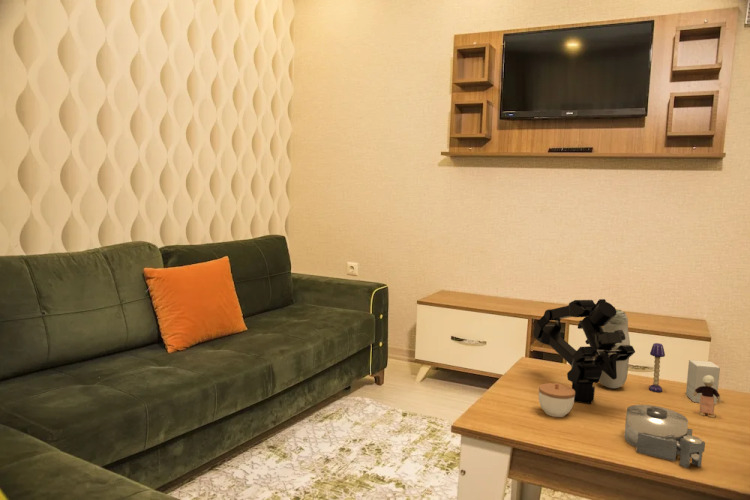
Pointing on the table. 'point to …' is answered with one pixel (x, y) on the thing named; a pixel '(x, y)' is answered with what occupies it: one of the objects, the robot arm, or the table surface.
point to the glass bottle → (621, 366)
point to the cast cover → (654, 423)
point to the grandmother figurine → (707, 396)
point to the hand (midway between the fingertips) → (614, 378)
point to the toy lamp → (656, 365)
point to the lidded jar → (556, 399)
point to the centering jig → (671, 447)
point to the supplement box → (701, 377)
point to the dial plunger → (692, 455)
